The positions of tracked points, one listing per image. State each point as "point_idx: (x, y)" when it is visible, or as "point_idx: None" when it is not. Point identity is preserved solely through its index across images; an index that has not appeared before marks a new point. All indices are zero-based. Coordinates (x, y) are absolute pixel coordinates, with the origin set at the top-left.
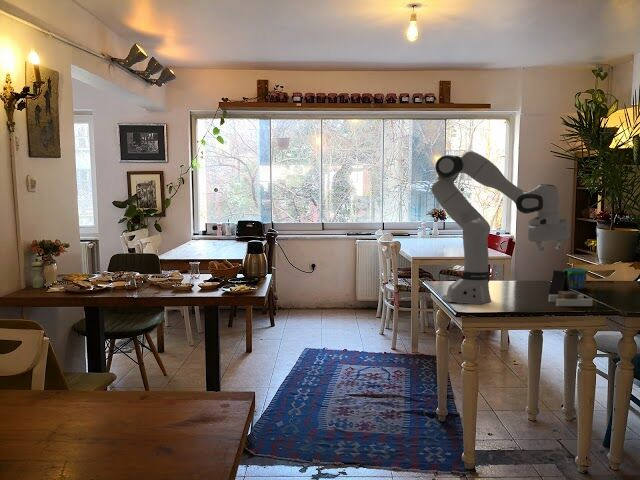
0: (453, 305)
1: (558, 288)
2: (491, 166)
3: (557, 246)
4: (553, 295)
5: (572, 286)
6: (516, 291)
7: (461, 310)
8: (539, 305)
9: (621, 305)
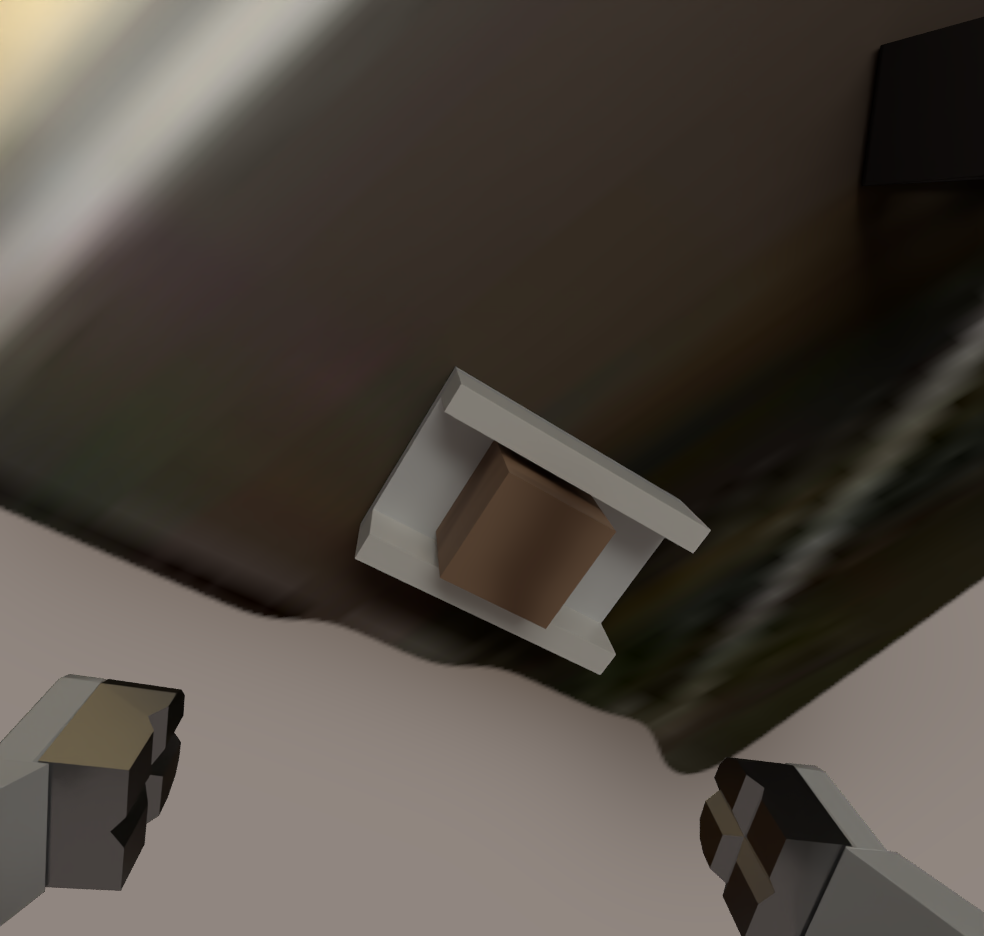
0: None
1: (927, 144)
2: None
3: (744, 878)
4: (473, 427)
5: None
6: None
7: None
8: (315, 380)
9: (820, 660)
